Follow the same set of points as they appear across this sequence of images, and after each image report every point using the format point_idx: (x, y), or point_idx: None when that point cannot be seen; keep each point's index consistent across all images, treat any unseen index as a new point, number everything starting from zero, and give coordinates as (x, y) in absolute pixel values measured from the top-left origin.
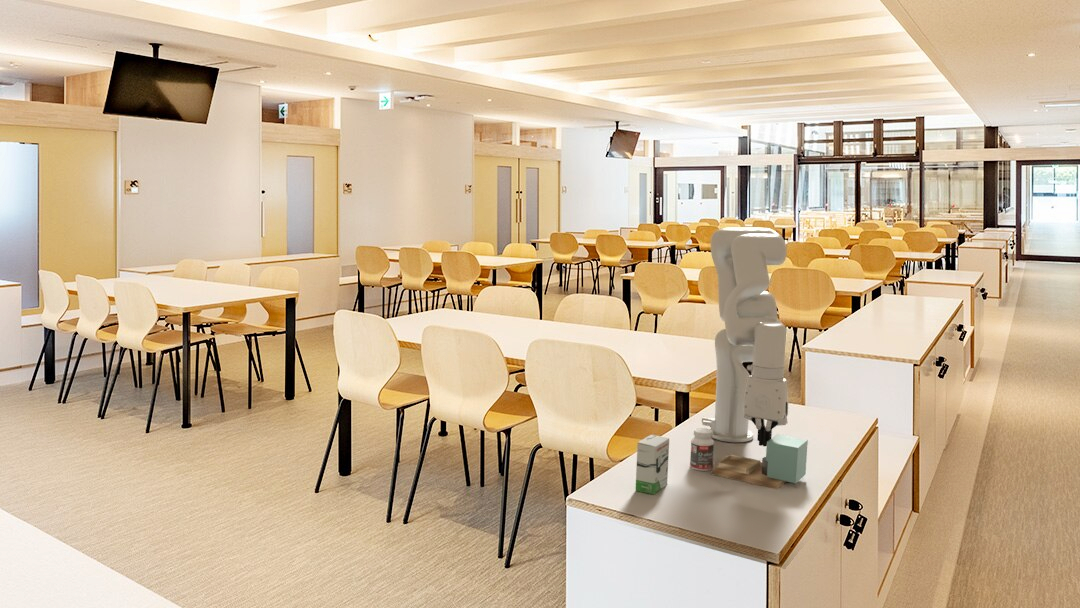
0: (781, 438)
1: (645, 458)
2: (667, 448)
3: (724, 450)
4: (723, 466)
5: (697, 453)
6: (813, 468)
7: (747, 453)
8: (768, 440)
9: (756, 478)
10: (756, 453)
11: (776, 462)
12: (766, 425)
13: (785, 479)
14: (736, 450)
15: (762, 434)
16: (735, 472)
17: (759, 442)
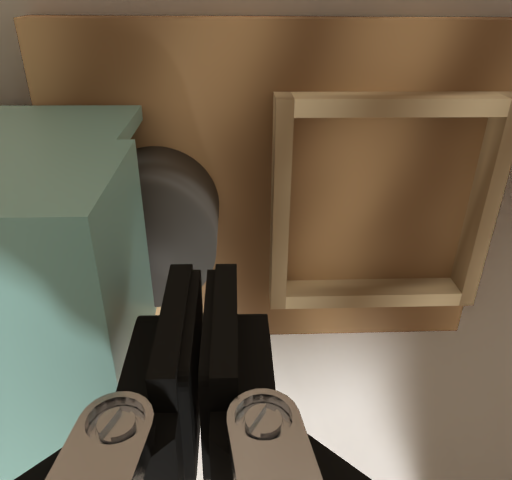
0: (34, 409)
1: None
2: None
3: (503, 412)
4: (466, 94)
5: None
6: None
7: (392, 432)
8: (141, 325)
9: (194, 41)
10: (355, 451)
11: (32, 140)
12: (129, 463)
13: (1, 109)
14: (449, 438)
15: (201, 349)
16: (363, 73)
17: (230, 278)
